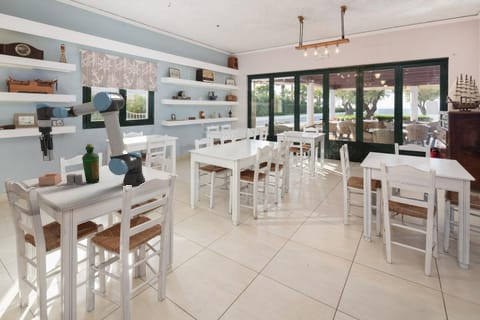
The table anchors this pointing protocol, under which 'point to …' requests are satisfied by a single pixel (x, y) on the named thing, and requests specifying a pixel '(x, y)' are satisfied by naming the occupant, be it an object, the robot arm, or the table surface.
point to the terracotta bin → (49, 179)
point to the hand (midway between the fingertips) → (48, 159)
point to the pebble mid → (70, 178)
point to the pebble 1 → (49, 155)
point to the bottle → (91, 165)
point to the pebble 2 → (78, 179)
